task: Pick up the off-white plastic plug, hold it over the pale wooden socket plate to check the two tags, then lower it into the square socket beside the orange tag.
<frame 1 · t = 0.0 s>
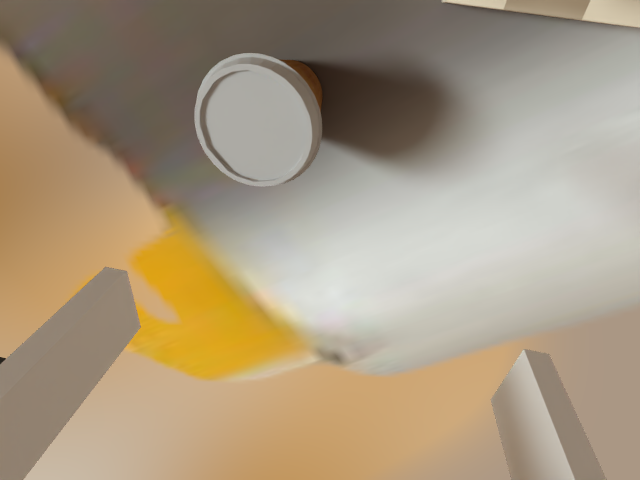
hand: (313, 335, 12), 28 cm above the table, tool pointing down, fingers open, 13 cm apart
disposable coffee cup: (291, 95, 35), on the table
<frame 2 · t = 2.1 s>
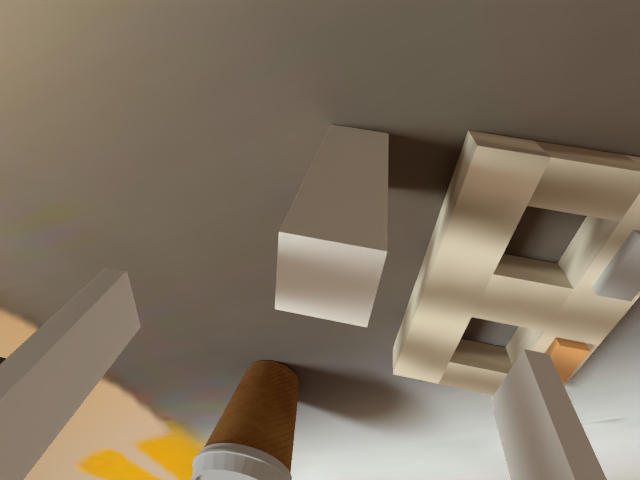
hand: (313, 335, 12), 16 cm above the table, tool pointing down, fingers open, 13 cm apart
socket plate: (509, 278, 29), on the table
plug: (354, 156, 26), on the table
disposable coffee cup: (273, 376, 42), on the table
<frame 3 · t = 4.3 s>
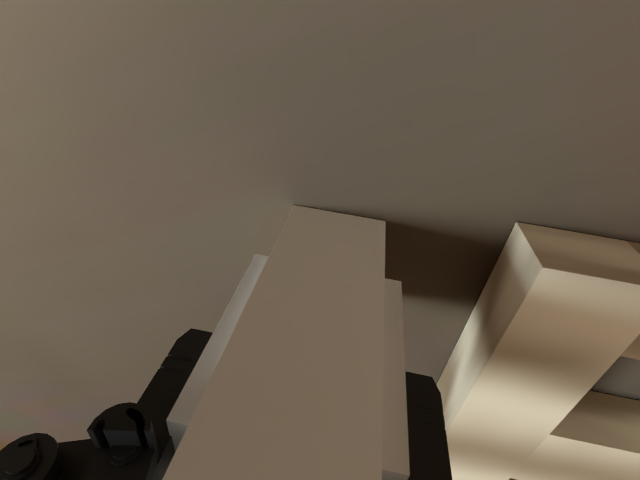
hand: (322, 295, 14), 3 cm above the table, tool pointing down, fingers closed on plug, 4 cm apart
socket plate: (562, 412, 20), on the table
plug: (332, 250, 16), on the table, touching gripper
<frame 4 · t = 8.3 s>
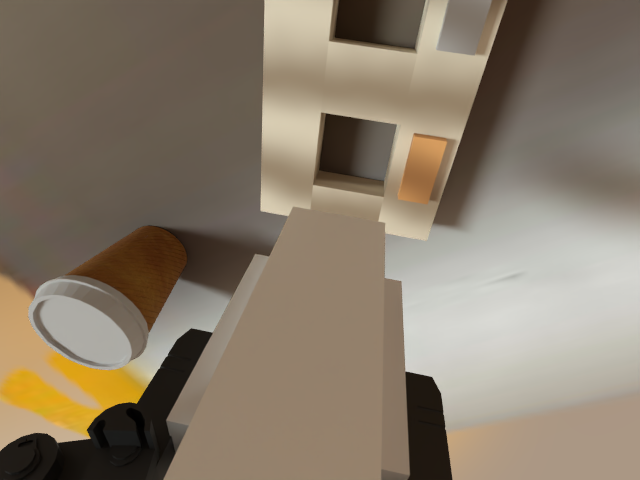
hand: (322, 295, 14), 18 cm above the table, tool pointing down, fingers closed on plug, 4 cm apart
socket plate: (368, 77, 26), on the table
plug: (332, 252, 16), point 15 cm above the table, touching gripper
disposable coffee cup: (160, 249, 39), on the table
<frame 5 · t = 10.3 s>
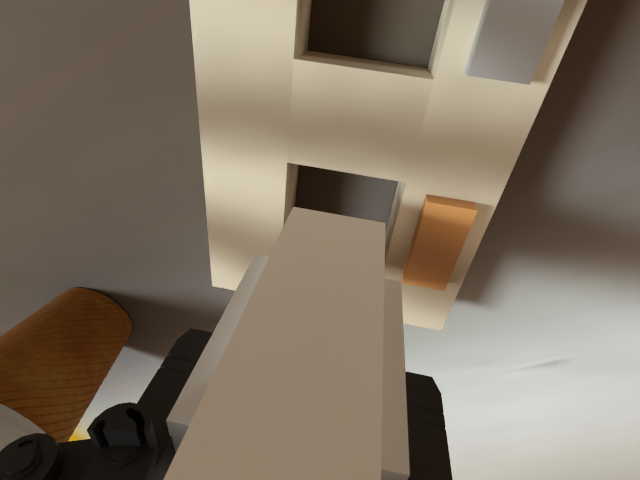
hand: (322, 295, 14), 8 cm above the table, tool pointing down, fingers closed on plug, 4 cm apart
socket plate: (358, 107, 18), on the table
plug: (332, 252, 16), point 5 cm above the table, touching gripper
disposable coffee cup: (98, 313, 31), on the table
when the fingers open (5 cm above the table, at t = 12.2 s): plug drops 2 cm, resting in socket plate.
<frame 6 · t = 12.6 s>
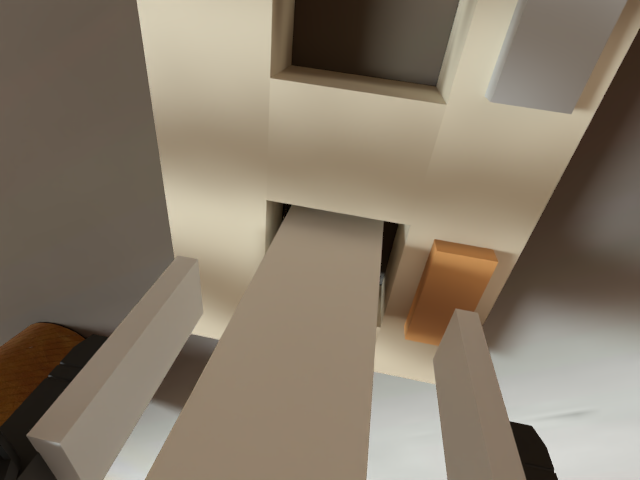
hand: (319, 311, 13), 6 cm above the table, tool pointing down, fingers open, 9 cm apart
socket plate: (353, 132, 15), on the table
plug: (336, 233, 18), resting in socket plate
disposable coffee cup: (68, 349, 28), on the table
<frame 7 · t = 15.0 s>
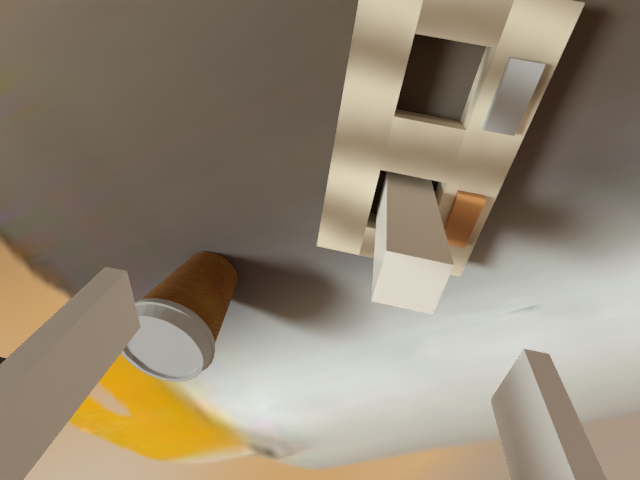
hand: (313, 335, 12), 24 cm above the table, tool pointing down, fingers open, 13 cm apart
socket plate: (418, 140, 31), on the table
plug: (402, 192, 34), resting in socket plate
disposable coffee cup: (213, 272, 43), on the table
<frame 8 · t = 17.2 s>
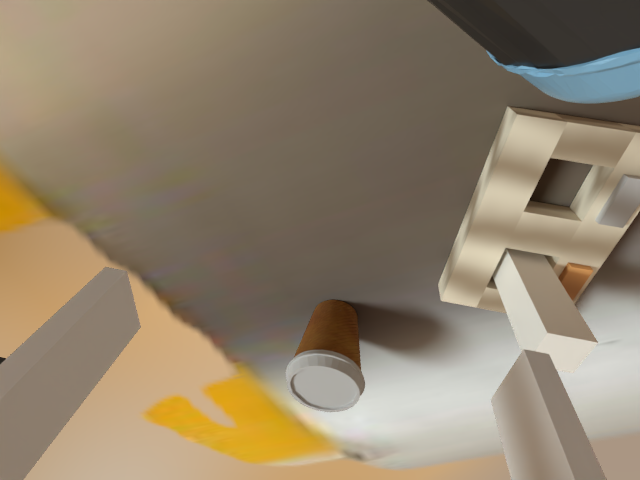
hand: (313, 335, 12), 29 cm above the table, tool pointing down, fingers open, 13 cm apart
socket plate: (532, 220, 39), on the table
plug: (513, 257, 42), resting in socket plate
disposable coffee cup: (335, 315, 52), on the table
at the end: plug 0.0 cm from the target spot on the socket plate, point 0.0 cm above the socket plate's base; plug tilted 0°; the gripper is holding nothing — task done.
